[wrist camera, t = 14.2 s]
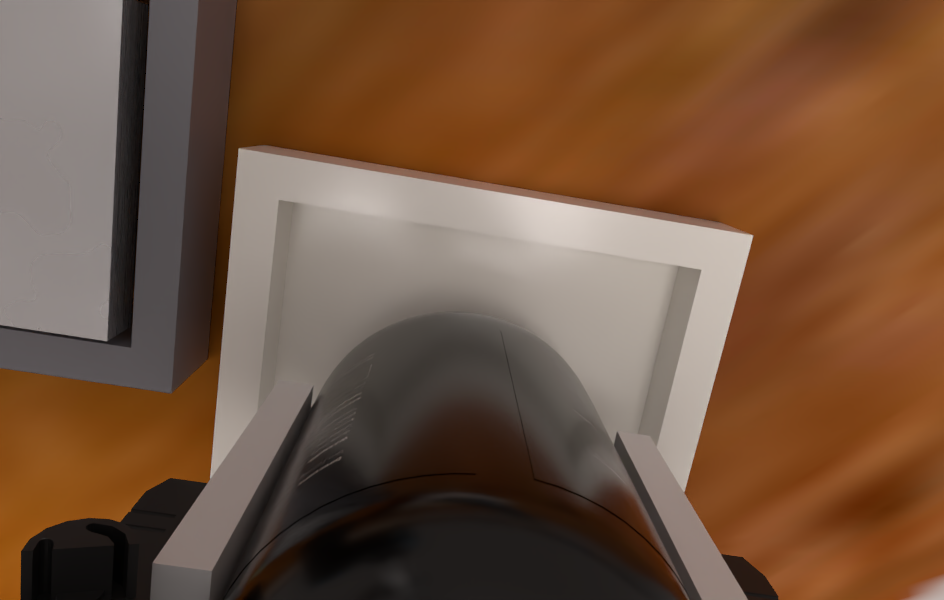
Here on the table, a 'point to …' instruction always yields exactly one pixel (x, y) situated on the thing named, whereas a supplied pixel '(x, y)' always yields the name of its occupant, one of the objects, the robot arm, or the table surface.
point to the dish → (472, 285)
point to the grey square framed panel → (162, 214)
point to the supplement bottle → (454, 481)
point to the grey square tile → (70, 163)
